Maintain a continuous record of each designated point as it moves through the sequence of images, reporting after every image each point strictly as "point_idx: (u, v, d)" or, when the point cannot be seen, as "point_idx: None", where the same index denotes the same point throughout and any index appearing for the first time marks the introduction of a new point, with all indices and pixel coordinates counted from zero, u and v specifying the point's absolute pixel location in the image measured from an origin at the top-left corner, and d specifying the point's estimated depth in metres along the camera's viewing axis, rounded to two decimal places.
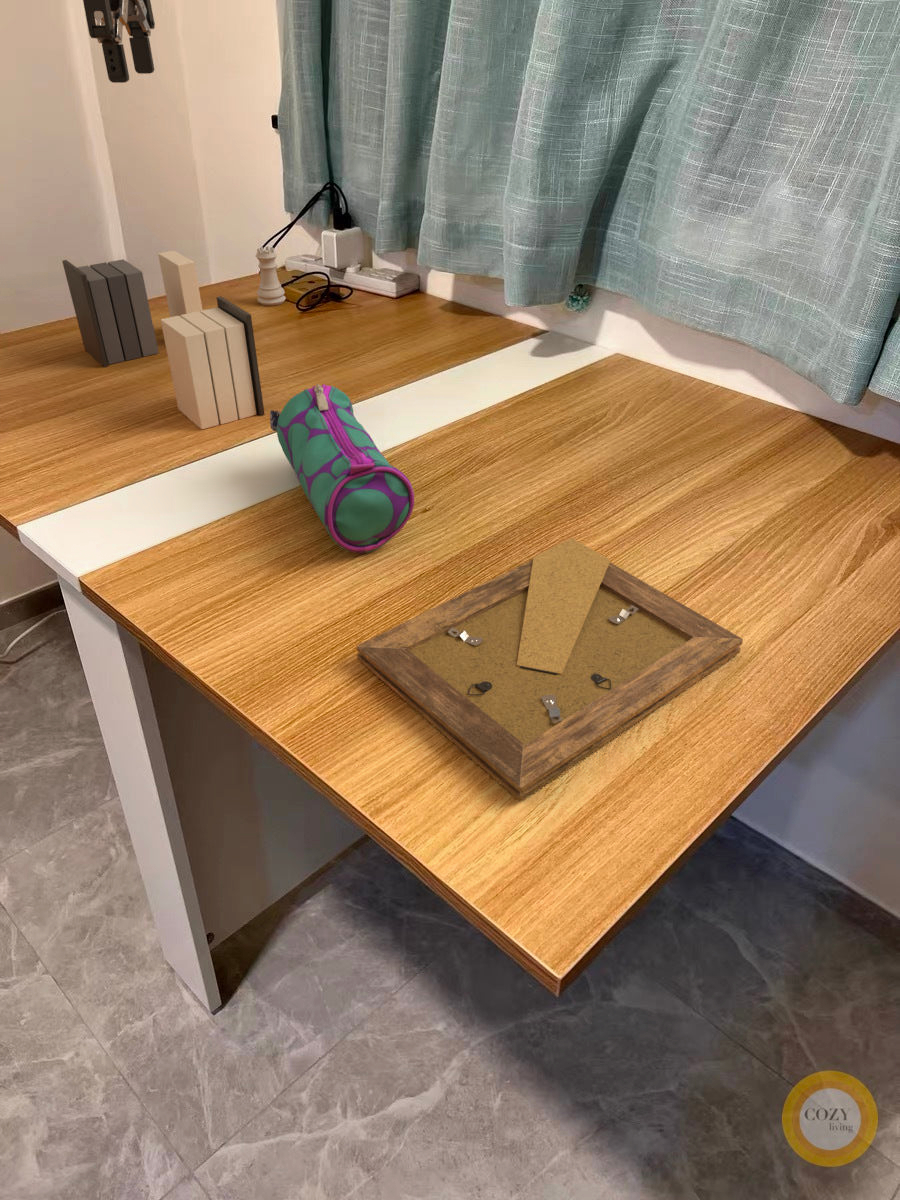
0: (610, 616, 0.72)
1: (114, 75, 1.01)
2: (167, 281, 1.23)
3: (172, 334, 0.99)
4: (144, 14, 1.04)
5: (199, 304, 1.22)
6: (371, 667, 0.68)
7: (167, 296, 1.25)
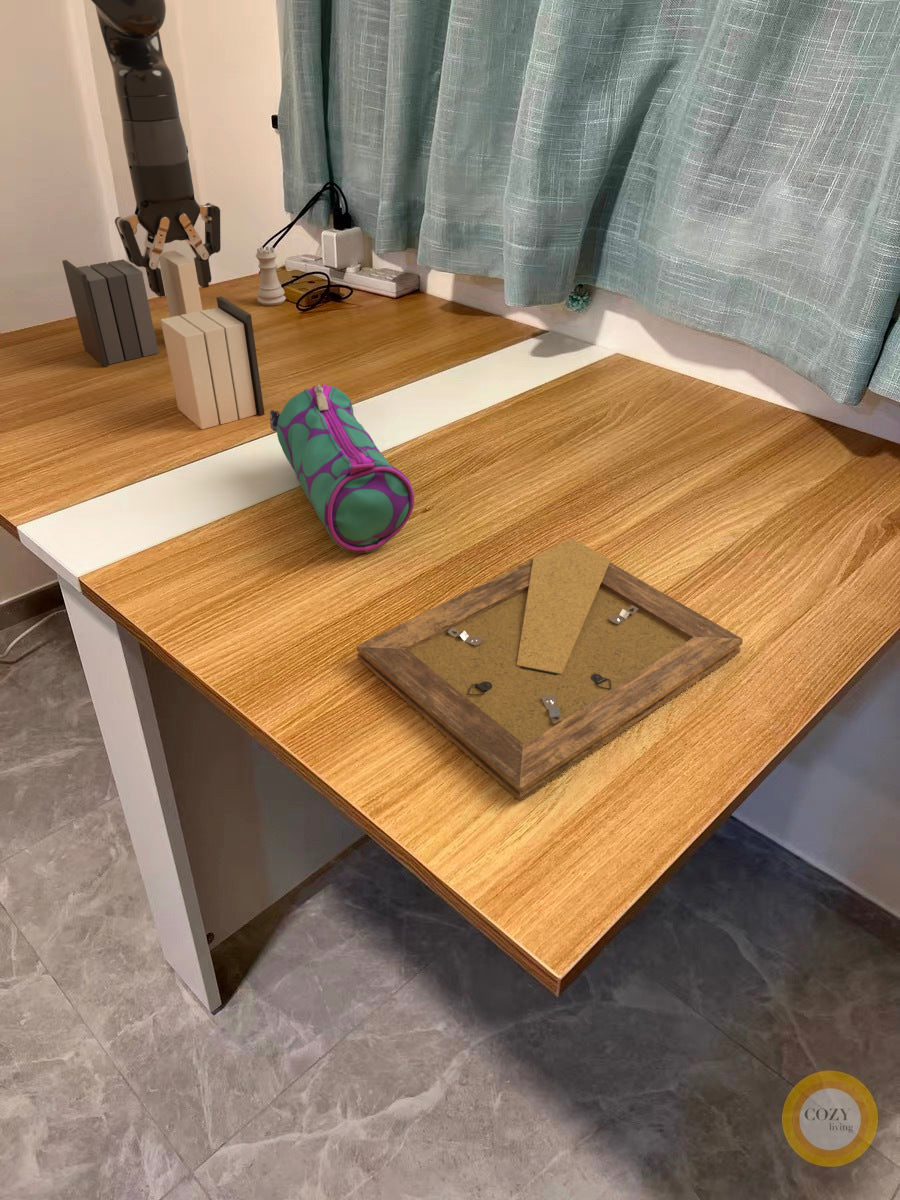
0: (610, 616, 0.72)
1: (152, 290, 1.21)
2: (167, 281, 1.23)
3: (172, 334, 0.99)
4: (194, 242, 1.19)
5: (199, 304, 1.22)
6: (371, 667, 0.68)
7: (167, 296, 1.25)
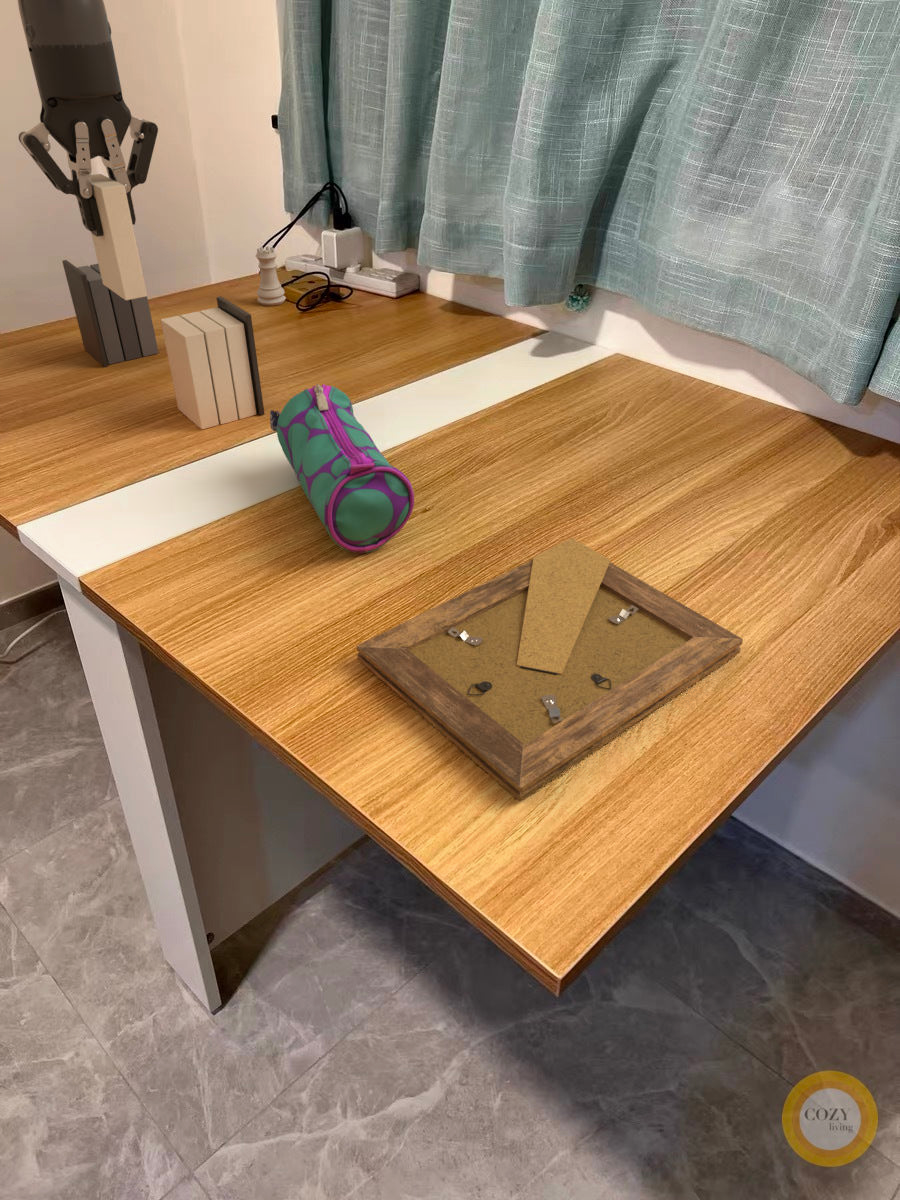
0: (610, 616, 0.72)
1: (87, 228, 0.91)
2: None
3: (172, 334, 0.99)
4: (114, 162, 0.88)
5: (133, 244, 0.91)
6: (371, 667, 0.68)
7: (93, 236, 0.95)
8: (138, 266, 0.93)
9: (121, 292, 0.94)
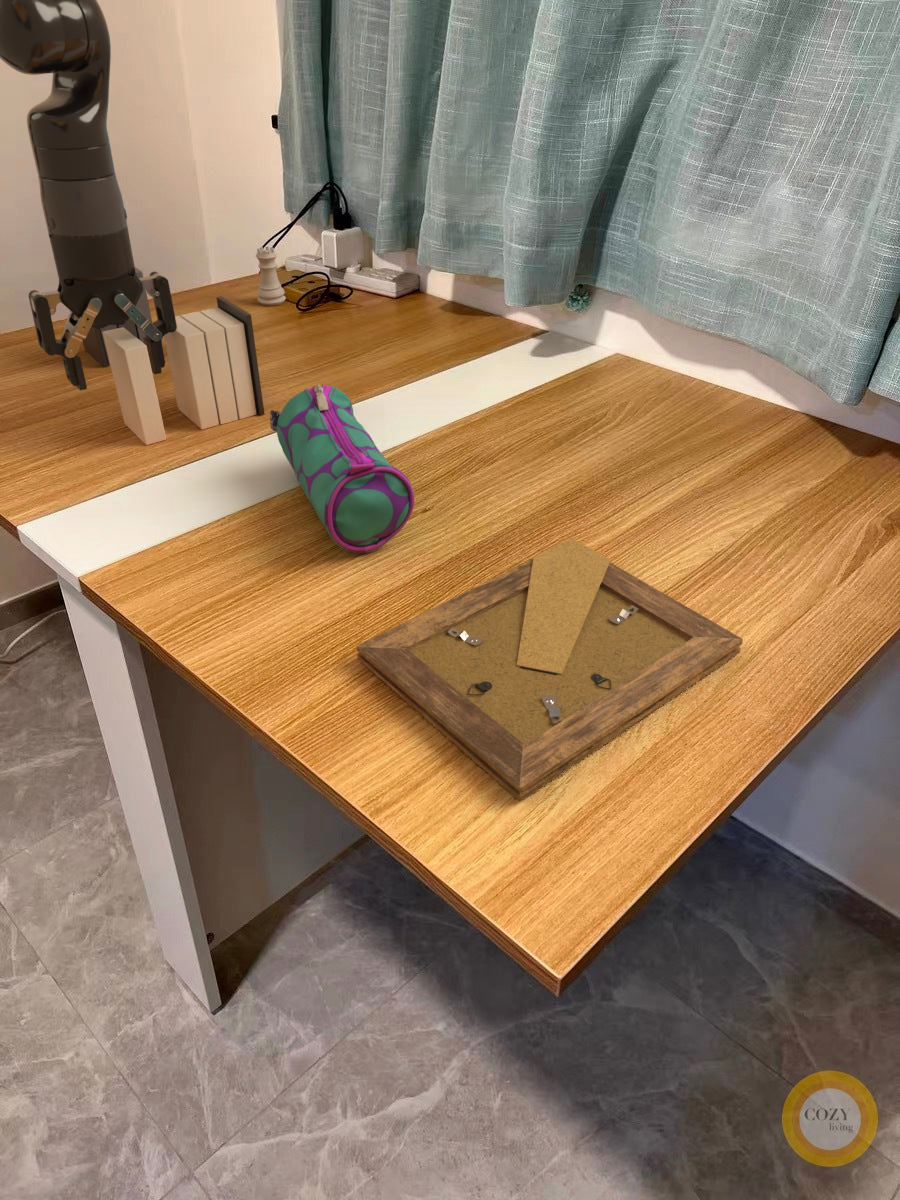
0: (610, 616, 0.72)
1: None
2: (114, 366, 0.98)
3: (172, 334, 0.99)
4: (139, 324, 0.94)
5: (154, 395, 0.97)
6: (371, 667, 0.68)
7: (115, 383, 1.00)
8: (158, 414, 0.98)
9: (142, 437, 1.00)
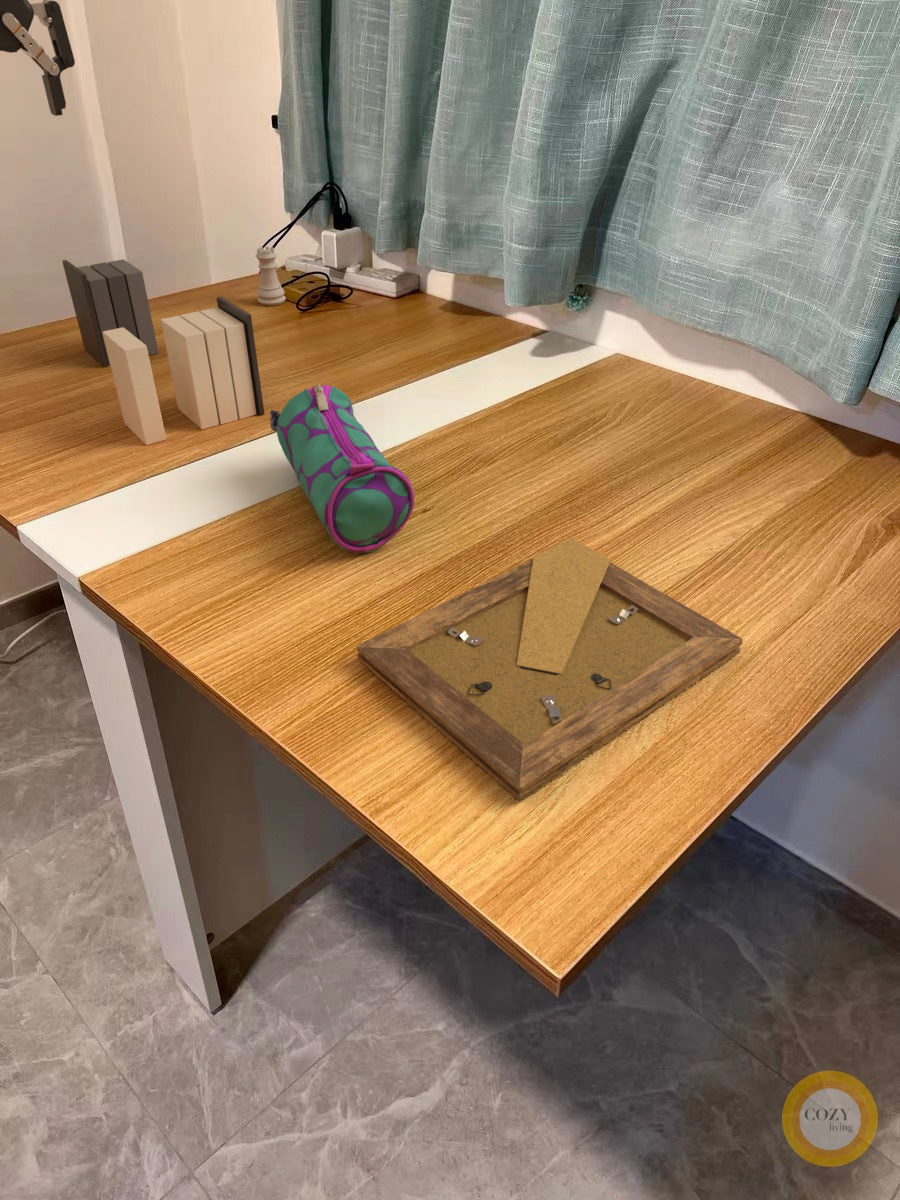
0: (610, 616, 0.72)
1: None
2: (114, 366, 0.98)
3: (172, 334, 0.99)
4: (32, 51, 0.92)
5: (154, 395, 0.97)
6: (371, 667, 0.68)
7: (115, 383, 1.00)
8: (158, 414, 0.98)
9: (142, 437, 1.00)
